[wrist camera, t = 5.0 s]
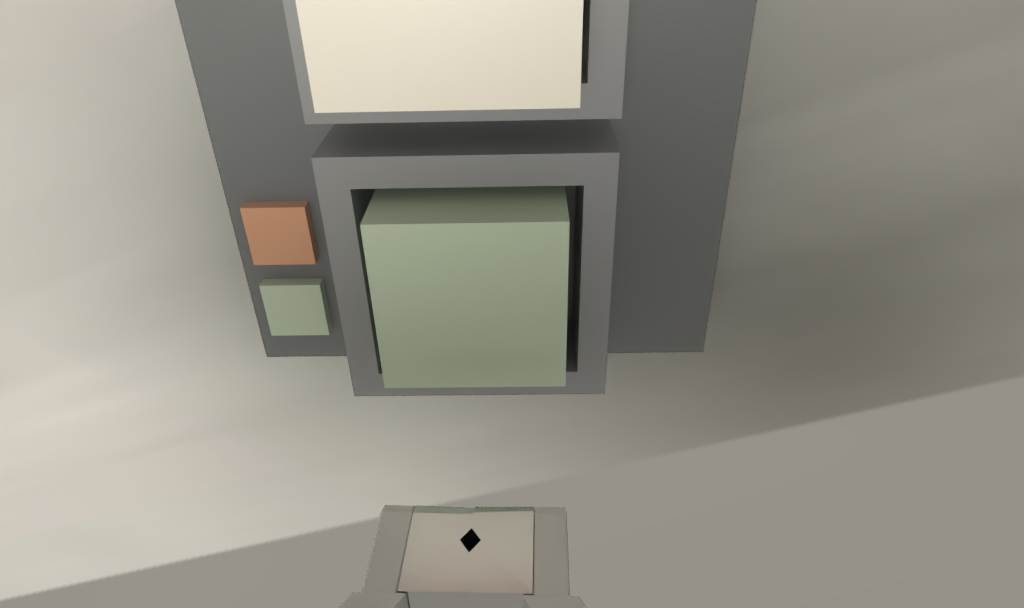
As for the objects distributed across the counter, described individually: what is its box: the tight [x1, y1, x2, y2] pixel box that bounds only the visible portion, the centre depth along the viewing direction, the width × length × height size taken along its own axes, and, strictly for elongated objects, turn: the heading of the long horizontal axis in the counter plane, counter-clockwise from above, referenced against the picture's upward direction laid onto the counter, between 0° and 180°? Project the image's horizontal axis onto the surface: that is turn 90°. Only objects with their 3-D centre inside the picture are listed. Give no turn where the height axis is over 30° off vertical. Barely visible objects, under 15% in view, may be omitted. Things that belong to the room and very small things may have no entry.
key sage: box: [360, 186, 570, 388], centre depth 19 cm, size 5×5×4 cm
